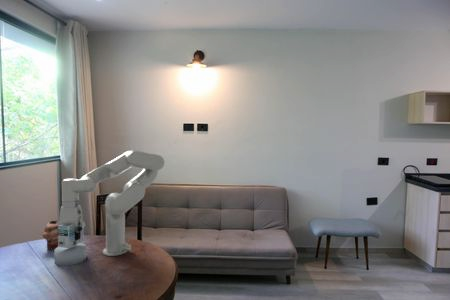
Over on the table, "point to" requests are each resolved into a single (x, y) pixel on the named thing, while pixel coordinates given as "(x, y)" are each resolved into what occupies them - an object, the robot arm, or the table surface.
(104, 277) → the table surface
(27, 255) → the table surface
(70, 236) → the light bulb box
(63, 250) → the smooth grey ovoid
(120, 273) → the table surface
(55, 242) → the orange-brown clay pot
